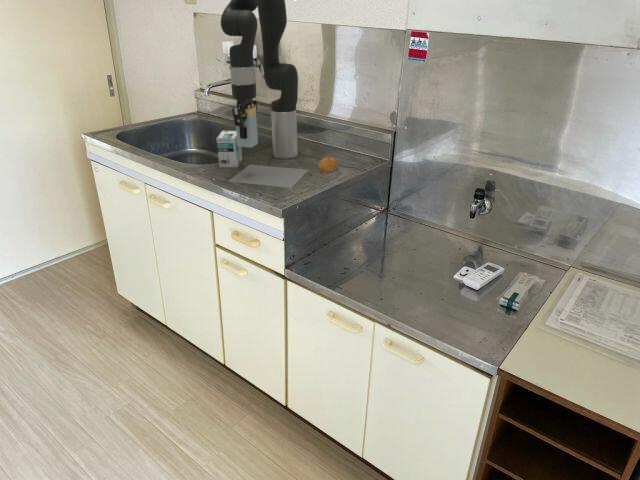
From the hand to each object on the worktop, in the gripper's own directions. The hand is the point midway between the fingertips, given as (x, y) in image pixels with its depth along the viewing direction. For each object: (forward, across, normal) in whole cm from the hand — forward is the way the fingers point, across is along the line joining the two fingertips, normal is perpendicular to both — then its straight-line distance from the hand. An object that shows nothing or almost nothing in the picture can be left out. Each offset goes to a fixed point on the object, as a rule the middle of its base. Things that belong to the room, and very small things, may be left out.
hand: (247, 136), depth 155 cm
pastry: (+14, -15, +23) cm, 31 cm away
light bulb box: (+14, -12, -13) cm, 23 cm away
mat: (+14, -2, +6) cm, 15 cm away
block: (+3, 0, 0) cm, 3 cm away
